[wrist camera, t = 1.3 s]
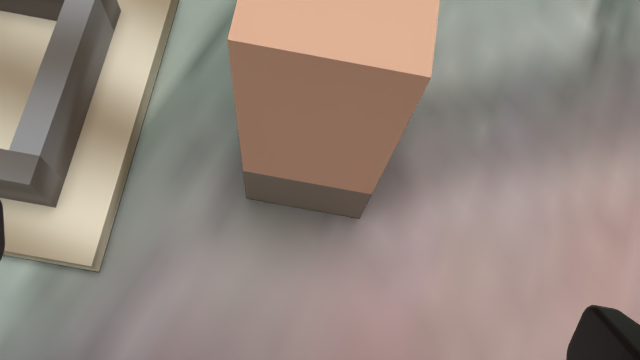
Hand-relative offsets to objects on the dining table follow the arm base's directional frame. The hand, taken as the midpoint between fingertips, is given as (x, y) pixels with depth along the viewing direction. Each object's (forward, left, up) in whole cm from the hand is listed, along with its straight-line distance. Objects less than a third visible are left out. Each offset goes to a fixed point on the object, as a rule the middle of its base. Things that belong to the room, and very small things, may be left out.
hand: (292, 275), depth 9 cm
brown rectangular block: (+6, +5, -13) cm, 15 cm away
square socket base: (-2, +15, -13) cm, 20 cm away
